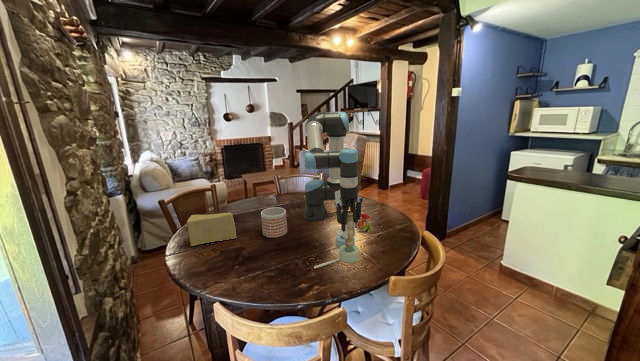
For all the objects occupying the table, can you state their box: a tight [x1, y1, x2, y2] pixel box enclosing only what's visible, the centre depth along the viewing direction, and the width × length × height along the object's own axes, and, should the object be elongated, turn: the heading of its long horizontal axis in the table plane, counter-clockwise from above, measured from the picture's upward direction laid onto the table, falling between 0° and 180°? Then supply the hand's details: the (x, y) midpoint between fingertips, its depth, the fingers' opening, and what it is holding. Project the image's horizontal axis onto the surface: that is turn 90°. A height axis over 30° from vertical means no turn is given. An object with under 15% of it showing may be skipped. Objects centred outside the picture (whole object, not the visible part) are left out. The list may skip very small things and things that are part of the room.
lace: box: [313, 258, 341, 270], centre depth 116 cm, size 1×13×1 cm, turn 117°
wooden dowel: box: [345, 210, 353, 247], centre depth 118 cm, size 4×4×16 cm
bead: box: [338, 245, 360, 264], centre depth 121 cm, size 9×9×4 cm
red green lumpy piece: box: [355, 213, 373, 233], centre depth 146 cm, size 6×11×9 cm
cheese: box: [186, 212, 238, 247], centre depth 140 cm, size 22×10×15 cm, turn 101°
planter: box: [260, 206, 288, 239], centre depth 148 cm, size 14×14×13 cm
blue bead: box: [335, 233, 356, 249], centre depth 133 cm, size 9×9×4 cm
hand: (349, 236), depth 119 cm, fingers closed on wooden dowel, 3 cm apart
